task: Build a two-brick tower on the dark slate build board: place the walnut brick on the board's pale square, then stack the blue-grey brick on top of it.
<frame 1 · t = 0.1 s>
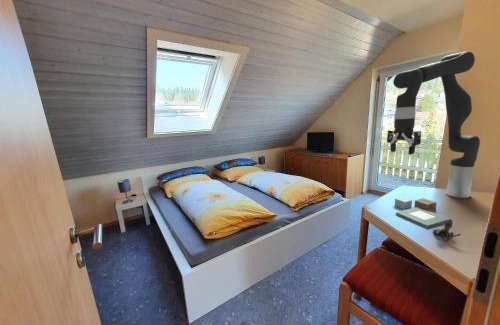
hand: (401, 152, 100), 29 cm above the table, fingers open, 8 cm apart
eagle figurine: (444, 237, 83), on the table
build board: (421, 217, 98), on the table
blue-grey brick: (402, 206, 110), on the table
walnut brick: (424, 208, 107), on the table
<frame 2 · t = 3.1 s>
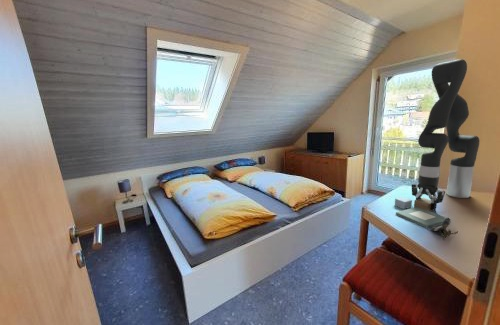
hand: (425, 207, 107), 1 cm above the table, fingers closed on walnut brick, 6 cm apart
eagle figurine: (442, 235, 85), on the table
walnut brick: (424, 208, 107), on the table, touching gripper
everything else where it was.
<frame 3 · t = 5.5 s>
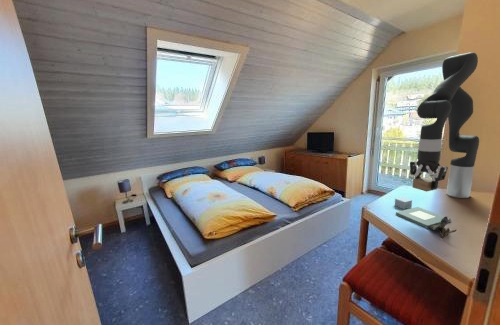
hand: (425, 186, 95), 15 cm above the table, fingers closed on walnut brick, 6 cm apart
eagle figurine: (440, 233, 86), on the table
walnut brick: (424, 188, 95), point 14 cm above the table, touching gripper
everything else where it was.
when the fingers open (2 cm above the table, at t = 8.2 s): walnut brick stays where it is, resting on build board.
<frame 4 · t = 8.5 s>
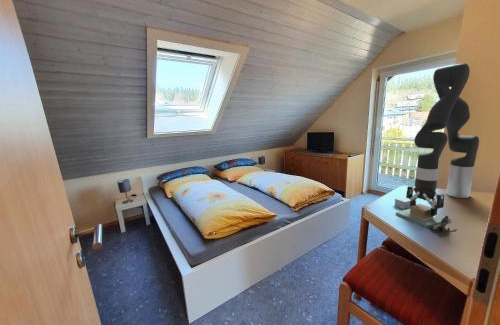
hand: (422, 211, 97), 3 cm above the table, fingers open, 8 cm apart
eagle figurine: (441, 233, 86), on the table, touching build board
walnut brick: (421, 215, 98), point 1 cm above the table, touching build board
everything else where it was.
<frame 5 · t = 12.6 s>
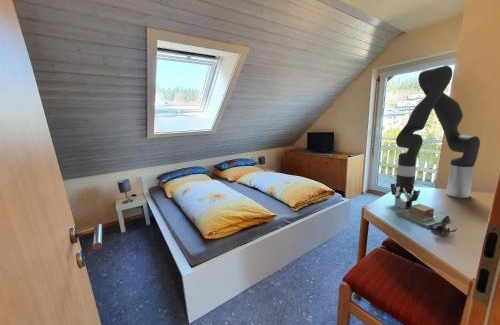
hand: (402, 205, 110), 1 cm above the table, fingers closed on blue-grey brick, 5 cm apart
eagle figurine: (441, 233, 86), on the table
blue-grey brick: (402, 206, 110), on the table, touching gripper
everything else where it was.
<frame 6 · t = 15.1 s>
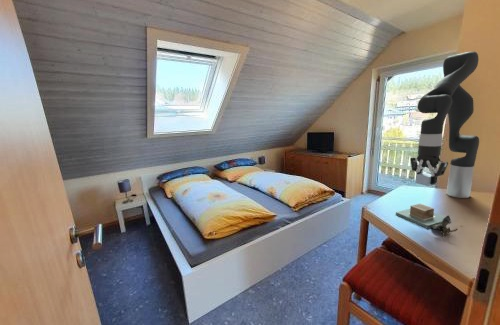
hand: (425, 182, 95), 17 cm above the table, fingers closed on blue-grey brick, 5 cm apart
blue-grey brick: (425, 183, 95), point 16 cm above the table, touching gripper
when the fingers open (6 cm above the table, at t = 17.8 s): blue-grey brick stays where it is, resting on walnut brick.
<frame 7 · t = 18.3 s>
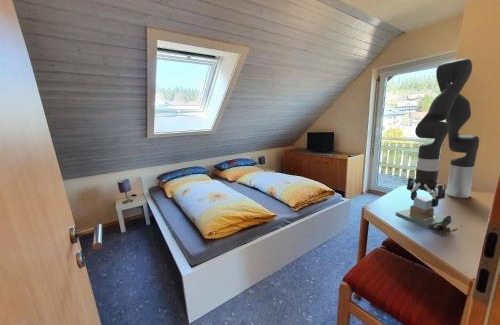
hand: (423, 203, 97), 7 cm above the table, fingers open, 8 cm apart
eagle figurine: (442, 232, 86), on the table, touching build board
blue-grey brick: (423, 207, 97), point 5 cm above the table, touching walnut brick
walnut brick: (421, 215, 98), point 1 cm above the table, touching blue-grey brick, build board
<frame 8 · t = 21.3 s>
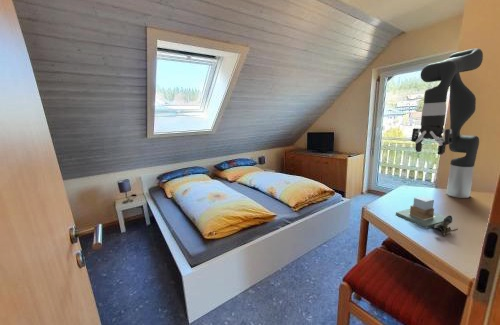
hand: (429, 153, 92), 30 cm above the table, fingers open, 8 cm apart
eagle figurine: (443, 232, 86), on the table
everything else where it was.
at the end: walnut brick inside the target area on the build board (0.5 cm from its centre), point 1.3 cm above the build board's base; blue-grey brick 0.4 cm off-centre on the walnut brick, point 4.0 cm above the walnut brick's base; blue-grey brick tilted 0° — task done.
